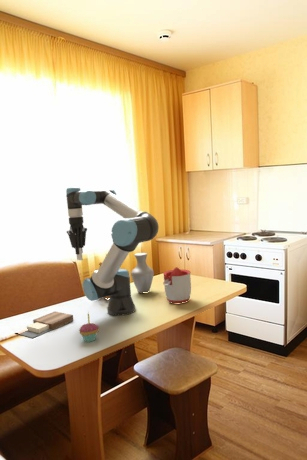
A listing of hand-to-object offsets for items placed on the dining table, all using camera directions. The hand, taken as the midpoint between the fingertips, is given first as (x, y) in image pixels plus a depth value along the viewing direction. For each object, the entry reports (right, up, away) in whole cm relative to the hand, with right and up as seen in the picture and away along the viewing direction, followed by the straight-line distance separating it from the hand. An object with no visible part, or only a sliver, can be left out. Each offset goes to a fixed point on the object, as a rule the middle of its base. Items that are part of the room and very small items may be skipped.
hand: (79, 259), depth 196 cm
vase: (+34, -24, +34) cm, 54 cm away
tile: (-16, -32, -19) cm, 41 cm away
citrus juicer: (+54, -25, +10) cm, 60 cm away
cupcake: (+12, -33, -35) cm, 50 cm away
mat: (-18, -33, -21) cm, 43 cm away
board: (-11, -32, -11) cm, 35 cm away
